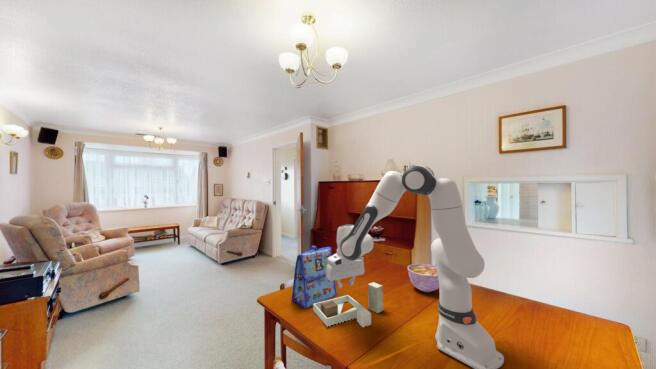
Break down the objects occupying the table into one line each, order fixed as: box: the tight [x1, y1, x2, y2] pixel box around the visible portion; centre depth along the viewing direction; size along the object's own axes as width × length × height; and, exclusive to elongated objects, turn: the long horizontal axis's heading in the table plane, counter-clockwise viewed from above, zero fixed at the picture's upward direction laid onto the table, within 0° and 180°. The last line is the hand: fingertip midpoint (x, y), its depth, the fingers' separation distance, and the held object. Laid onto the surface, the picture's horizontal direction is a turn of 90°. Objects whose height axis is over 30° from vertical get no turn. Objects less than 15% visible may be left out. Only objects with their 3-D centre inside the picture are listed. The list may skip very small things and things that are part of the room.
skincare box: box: [367, 281, 384, 314], centre depth 119 cm, size 6×4×12 cm
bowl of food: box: [407, 263, 439, 293], centre depth 141 cm, size 20×20×12 cm
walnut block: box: [321, 299, 338, 318], centre depth 113 cm, size 6×6×5 cm
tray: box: [312, 294, 366, 328], centre depth 116 cm, size 15×20×4 cm
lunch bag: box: [291, 245, 338, 309], centre depth 131 cm, size 22×14×29 cm, turn 131°
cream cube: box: [356, 308, 372, 328], centre depth 107 cm, size 4×4×5 cm
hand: (345, 286), depth 118 cm, fingers open, 5 cm apart
